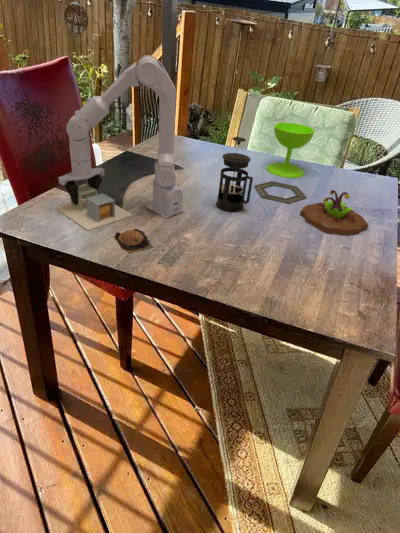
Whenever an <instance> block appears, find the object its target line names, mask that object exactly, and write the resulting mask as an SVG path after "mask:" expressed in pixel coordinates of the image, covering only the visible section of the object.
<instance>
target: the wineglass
mask: <svg viewBox="0 0 400 533" xmlns="http://www.w3.org/2000/svg"><path fill="white" fill-rule="evenodd" d="M273 128H274V129H273V130H274V136H275V138H276V140H277V142H278V143H279V144H280V145H281V146H283V147H285V148H287V150H286V155H285V160H284V162H274V163H270V164H268V165H267V166H266V171H267V172H269V173H270V174H272V175H274V176H276V177H281V178H286V179H299V178H301V177H303V176H304V175H305V172H304V170H303V169H302V168H301V167H300V166H298V165H295V164H291V163H290V161H291V157H292V152H293V149H295V150H296V149H299V148H303V147H304V146H305V145H307V143H309V142H310V141H311V140H312V138H313V136H314V134H315V129H314V128H312V127H310V126H307V125H305V124H299V123H293V122H278V123H276V124H274V127H273Z"/></svg>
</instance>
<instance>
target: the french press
mask: <svg viewBox="0 0 400 533" xmlns="http://www.w3.org/2000/svg"><path fill="white" fill-rule="evenodd" d="M232 140H233V141H234V142H236V145H237V148H236V152H228V153H224V154H222V159H223V165H224V166H226V167H223V168H222V169H220V173H219V174H220V178H219V187H218V194H217V198H216V199H217V200H216V204H215V206H216V208H218V209H219V210H221V211H224V212H229V213H237V212H240V211H243V209H244V207H245V206H244V205H247V204H249V202H250V198H251V192H252V187H253V181H254V180H253V179H254V177H252V176H250V175H249V172H248V171H246V168H248V167H249V162H251V161H252V160H251V159H252V158H250V156H248V155H245V154H244V153H243V154H242V153H239V147H240V145H241V142H242V143H243V142H246V141H247V140H246V139H245V138H244V137H241V136H234V137H232ZM244 169H245V170H244ZM226 172H233V176H231V175H230V176H229V175H227V174H224V173H226ZM235 173H237V174H235ZM235 175H236V176H235ZM243 175H244V176H243ZM248 180H249V184H248V191H247V194H246V189H247V188H246V187H247V183H248ZM223 181H224V182H223ZM234 182H235V183H234ZM242 182H243V186H241V184H242ZM245 195H246V200H245Z"/></svg>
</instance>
